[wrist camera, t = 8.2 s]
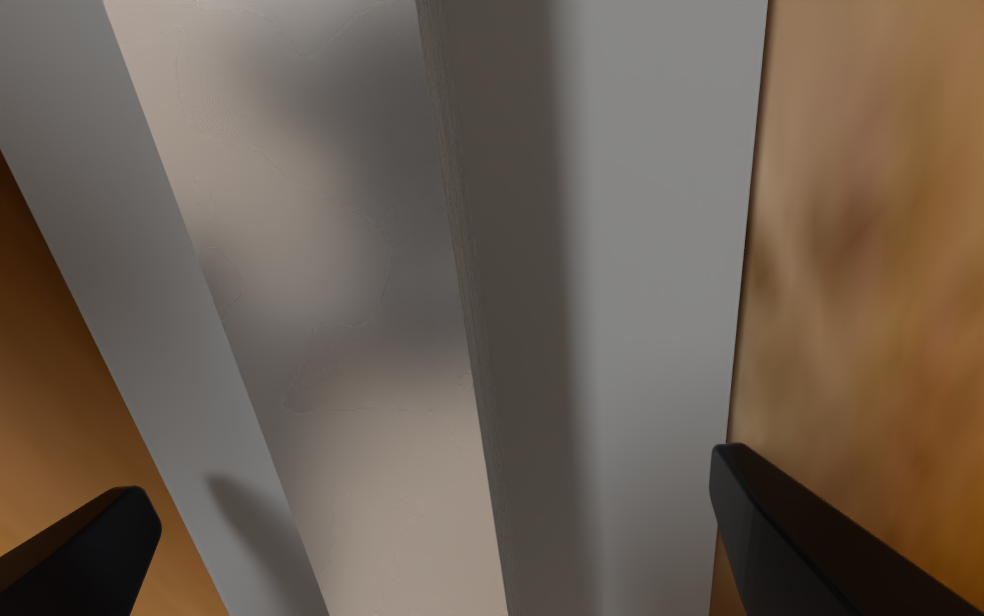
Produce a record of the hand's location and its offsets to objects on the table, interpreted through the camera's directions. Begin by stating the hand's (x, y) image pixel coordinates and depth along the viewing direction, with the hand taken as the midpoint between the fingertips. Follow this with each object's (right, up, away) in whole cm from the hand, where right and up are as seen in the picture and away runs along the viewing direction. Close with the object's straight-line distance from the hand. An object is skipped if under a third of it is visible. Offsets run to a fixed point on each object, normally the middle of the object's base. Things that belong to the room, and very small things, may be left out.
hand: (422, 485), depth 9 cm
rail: (0, +1, +1) cm, 1 cm away
